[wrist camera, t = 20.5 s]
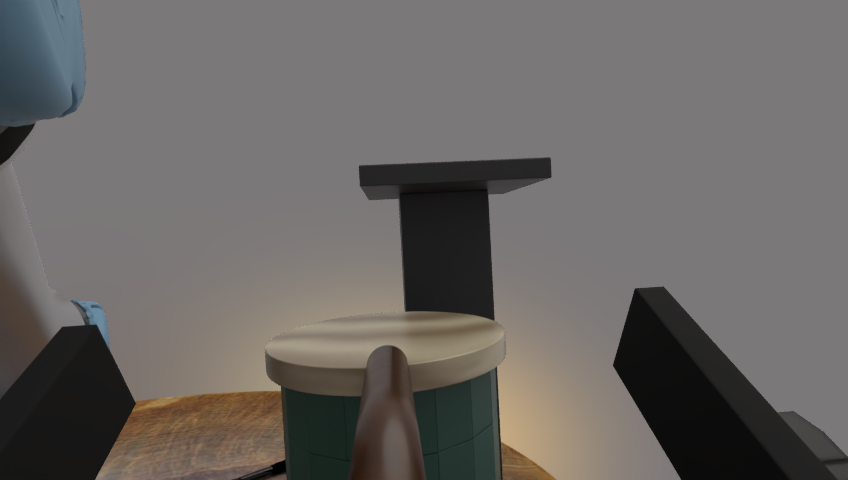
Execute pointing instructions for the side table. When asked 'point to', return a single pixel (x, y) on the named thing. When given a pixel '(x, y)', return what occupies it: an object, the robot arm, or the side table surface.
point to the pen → (265, 472)
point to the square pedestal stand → (449, 228)
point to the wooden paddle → (385, 375)
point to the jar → (437, 422)
